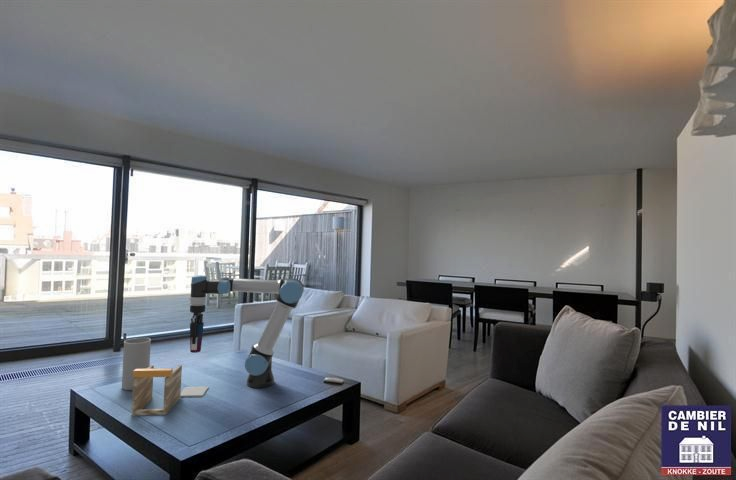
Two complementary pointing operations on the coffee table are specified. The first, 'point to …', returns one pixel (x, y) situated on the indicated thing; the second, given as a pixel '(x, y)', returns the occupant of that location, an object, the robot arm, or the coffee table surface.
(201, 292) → the robot arm
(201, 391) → the pad
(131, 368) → the cylinder vase
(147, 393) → the cradle
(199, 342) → the cup
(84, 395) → the coffee table surface
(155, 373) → the tie bar
